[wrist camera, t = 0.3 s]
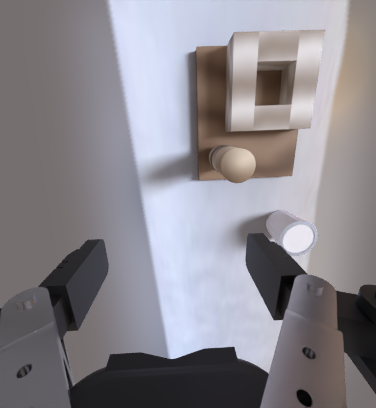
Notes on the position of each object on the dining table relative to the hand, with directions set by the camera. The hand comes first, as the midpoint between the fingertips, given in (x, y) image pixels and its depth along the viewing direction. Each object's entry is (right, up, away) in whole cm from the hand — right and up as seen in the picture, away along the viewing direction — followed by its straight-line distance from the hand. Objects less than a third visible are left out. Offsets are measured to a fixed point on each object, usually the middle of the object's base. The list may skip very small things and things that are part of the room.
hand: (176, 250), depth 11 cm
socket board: (+11, +17, +23) cm, 31 cm away
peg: (+6, +11, +23) cm, 26 cm away
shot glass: (+19, -1, +30) cm, 35 cm away
